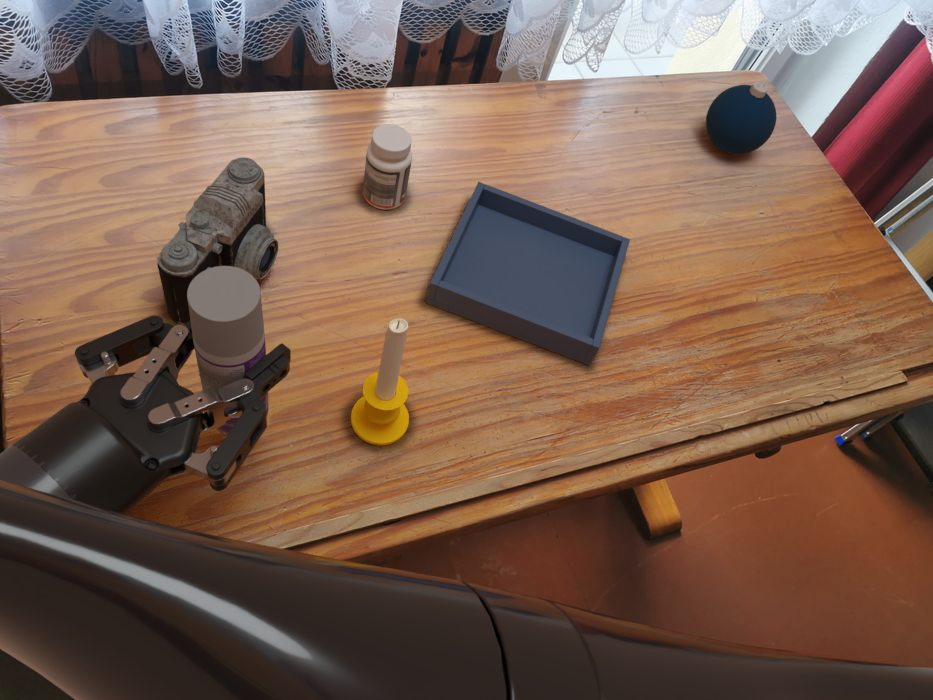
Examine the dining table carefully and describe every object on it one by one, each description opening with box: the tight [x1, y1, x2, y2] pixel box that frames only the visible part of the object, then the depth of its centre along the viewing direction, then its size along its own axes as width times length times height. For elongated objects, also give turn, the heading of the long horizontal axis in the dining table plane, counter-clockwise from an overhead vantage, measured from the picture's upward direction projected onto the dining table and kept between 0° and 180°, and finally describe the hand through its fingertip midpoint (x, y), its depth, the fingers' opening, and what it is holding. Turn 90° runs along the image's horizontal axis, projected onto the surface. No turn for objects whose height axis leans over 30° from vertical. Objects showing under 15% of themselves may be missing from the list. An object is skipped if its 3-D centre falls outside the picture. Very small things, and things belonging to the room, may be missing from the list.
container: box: [187, 266, 269, 435], centre depth 55 cm, size 5×5×15 cm
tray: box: [425, 181, 631, 366], centre depth 81 cm, size 18×16×3 cm
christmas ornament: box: [705, 81, 777, 155], centre depth 97 cm, size 8×8×10 cm
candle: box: [350, 317, 410, 447], centre depth 64 cm, size 5×5×16 cm
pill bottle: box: [362, 123, 413, 211], centre depth 82 cm, size 5×5×8 cm
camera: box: [156, 156, 279, 325], centre depth 72 cm, size 15×7×10 cm, turn 160°
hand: (259, 331), depth 56 cm, fingers closed on container, 4 cm apart
